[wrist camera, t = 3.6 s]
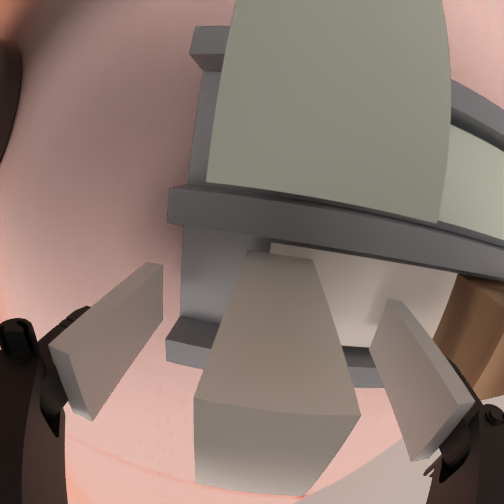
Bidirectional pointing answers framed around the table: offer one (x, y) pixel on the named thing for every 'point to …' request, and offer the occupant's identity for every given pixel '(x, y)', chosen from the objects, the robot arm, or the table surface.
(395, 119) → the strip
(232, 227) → the lane board
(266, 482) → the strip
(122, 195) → the table surface
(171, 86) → the table surface
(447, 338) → the cube
